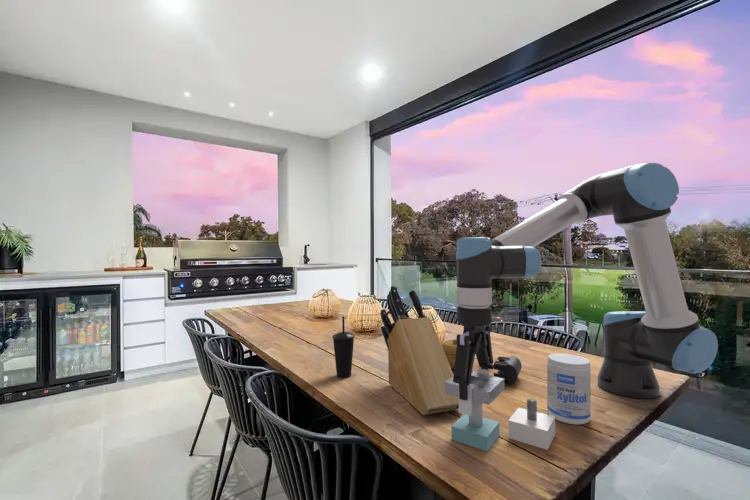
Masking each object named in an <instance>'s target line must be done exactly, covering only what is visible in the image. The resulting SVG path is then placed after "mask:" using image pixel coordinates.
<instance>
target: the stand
mask: <svg viewBox="0 0 750 500" xmlns="http://www.w3.org/2000/svg"><path fill="white" fill-rule="evenodd" d="M537 403H538V401H537V400H536V399H534V398H527V399H526V408H522V407H518V408H517V409H516V410H515V412H514V413H512V415H511V416H510V418H509V419H508V422H507V423H508V424H507V425H508V439H511V440H514V441H516V442H520V443H523V444H527V445H530V446H533V447H536V448H540V449H543V450H546V451H548V450H549V448H550V446H551V445H552V442H553V440H554V438H555V436H556V419H555V416H551V415H549V414H547V413H542V412H538V406H537V405H538V404H537Z"/></svg>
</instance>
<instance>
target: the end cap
mask: <svg viewBox="0 0 750 500" xmlns="http://www.w3.org/2000/svg"><path fill="white" fill-rule="evenodd" d="M493 365H494V369H493V370H497V372H493V376H495V377H499V378H504V385H507V386H509V385H512V384H513V383H515V381H517V379H518V377H519V375H520V373H521V370H522V362H521V360H520V359H519V358H518V357H517V356H515V355H511V356H510V357H509V356H508V357H506V356H498V357H497V359H496V360H494V361H493Z"/></svg>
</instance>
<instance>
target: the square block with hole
mask: <svg viewBox="0 0 750 500" xmlns="http://www.w3.org/2000/svg"><path fill="white" fill-rule="evenodd" d="M470 384H472V401H476V402H479V403H482V405H487V406H489V405H490V404H491V403H493V402H494V400H496V399H497V398H498V397H499V396H500V394H502V392H504V391H505V384H504V378H499V377H495V376H494V375H491V374H490V375H485V374H480V373H477V372H476V371H472V374H471V379H470ZM444 393H445V394H449V395H453V396H456V397H459V393H458V383H455V382H453V377H451V378H450V379H448V380H447V381H445V382H444Z"/></svg>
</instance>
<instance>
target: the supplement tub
mask: <svg viewBox="0 0 750 500" xmlns="http://www.w3.org/2000/svg"><path fill="white" fill-rule="evenodd" d="M590 363H591V362H590V360H589V359H588V358H586V357H583V356H580V355H577V354H576V355H575V354H570V353H563V352H562V353H561V352H560V353H551V354H549V355H548V356H547V366H546V369H547V371H546V372H547V373H546V374H547V375H546V379H547V380H546V382H547V383H546V384H547V385H546V386H547V388H546V389H547V391H546V393H547V394H546V395H547V396H546V400H547V401H546V405H547V406H546V410H547V413H548V415H551V416H555V421H556V420H557V421H558V422H560V423H563V424H569V425H575V426H577V425H585V424H587V423H589V422H590V421H591V394H592V393H591V389H592V388H591V381H592V380H591V378H592V377H591V375H592V374H591V364H590Z"/></svg>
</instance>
